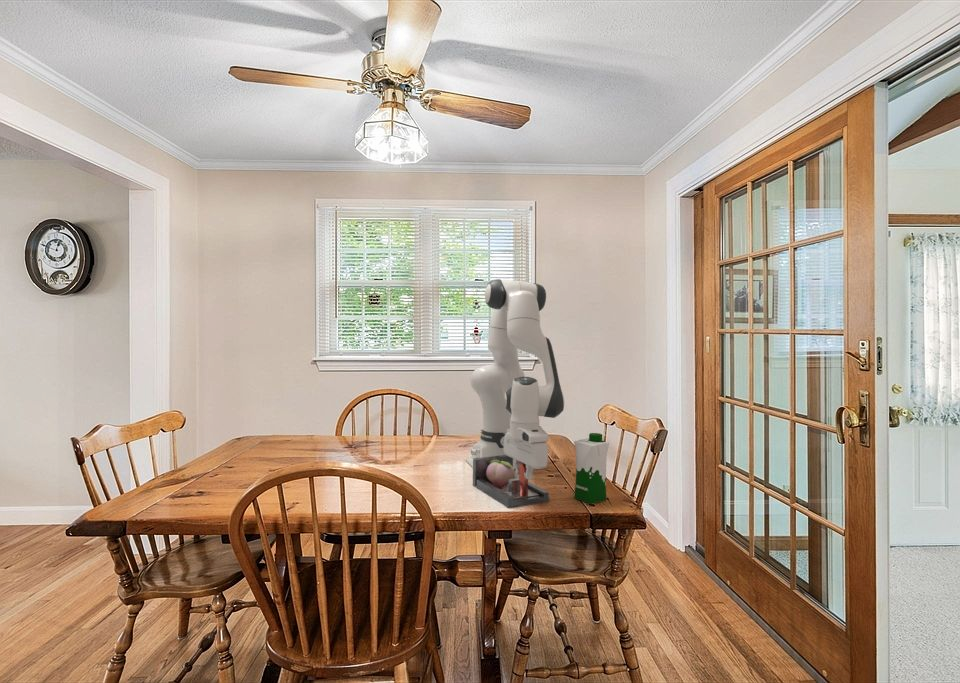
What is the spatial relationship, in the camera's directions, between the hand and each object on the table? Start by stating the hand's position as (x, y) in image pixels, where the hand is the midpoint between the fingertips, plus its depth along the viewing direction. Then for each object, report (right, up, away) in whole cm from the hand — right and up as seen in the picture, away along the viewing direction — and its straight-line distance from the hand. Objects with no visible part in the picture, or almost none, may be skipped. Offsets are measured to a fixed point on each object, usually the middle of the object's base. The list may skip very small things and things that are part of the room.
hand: (523, 476), depth 157 cm
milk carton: (+21, -8, +3) cm, 22 cm away
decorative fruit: (-6, -8, +13) cm, 16 cm away
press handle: (-1, -8, +2) cm, 8 cm away
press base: (-4, -7, +8) cm, 12 cm away
